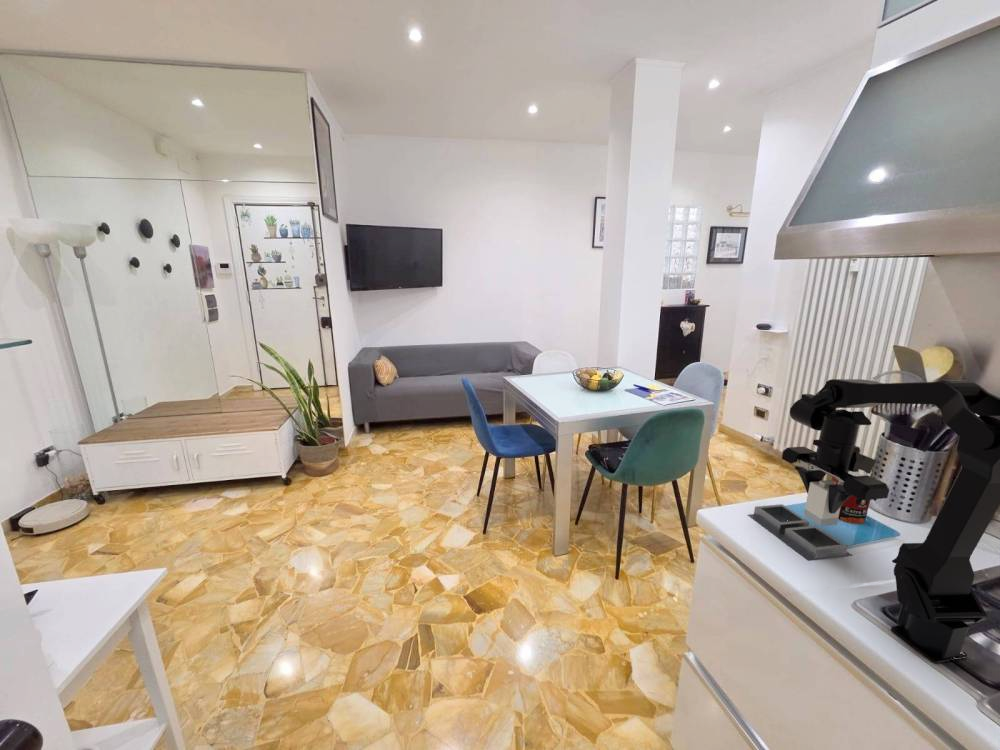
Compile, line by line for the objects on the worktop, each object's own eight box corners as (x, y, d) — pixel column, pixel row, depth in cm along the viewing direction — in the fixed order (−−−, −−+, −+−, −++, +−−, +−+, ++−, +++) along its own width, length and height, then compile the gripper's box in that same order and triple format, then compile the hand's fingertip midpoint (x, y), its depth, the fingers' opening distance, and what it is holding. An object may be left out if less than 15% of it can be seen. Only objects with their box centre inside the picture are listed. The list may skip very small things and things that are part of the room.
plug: (836, 524, 86) (845, 485, 84) (820, 526, 85) (828, 487, 83) (819, 513, 90) (827, 476, 88) (803, 515, 89) (810, 477, 87)
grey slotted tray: (852, 558, 86) (855, 546, 86) (807, 564, 85) (810, 551, 84) (785, 514, 103) (787, 503, 102) (746, 517, 101) (748, 506, 100)
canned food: (840, 526, 98) (850, 485, 95) (816, 508, 105) (825, 469, 103) (873, 527, 97) (884, 485, 95) (846, 509, 105) (856, 470, 103)
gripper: (922, 455, 76) (902, 530, 79) (828, 421, 93) (815, 483, 97) (872, 459, 74) (853, 535, 77) (785, 423, 92) (774, 486, 95)
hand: (822, 507), depth 87 cm, fingers closed on plug, 4 cm apart
